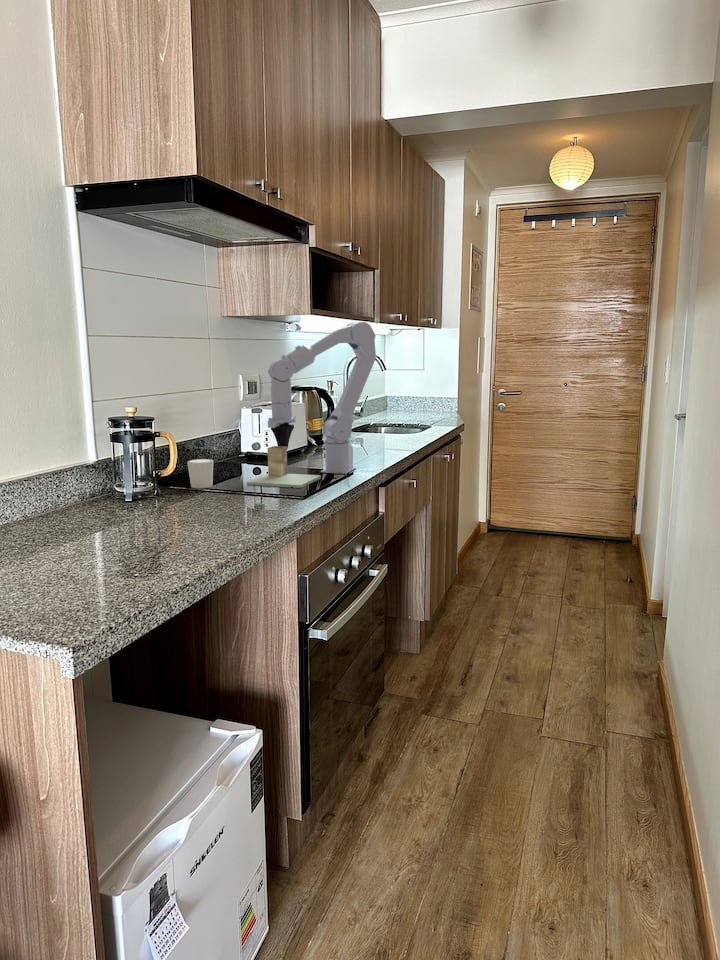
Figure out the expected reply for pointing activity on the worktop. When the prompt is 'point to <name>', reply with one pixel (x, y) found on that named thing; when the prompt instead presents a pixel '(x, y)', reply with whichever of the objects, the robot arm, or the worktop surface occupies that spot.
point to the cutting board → (285, 480)
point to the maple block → (277, 461)
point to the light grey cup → (201, 473)
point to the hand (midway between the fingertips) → (283, 450)
